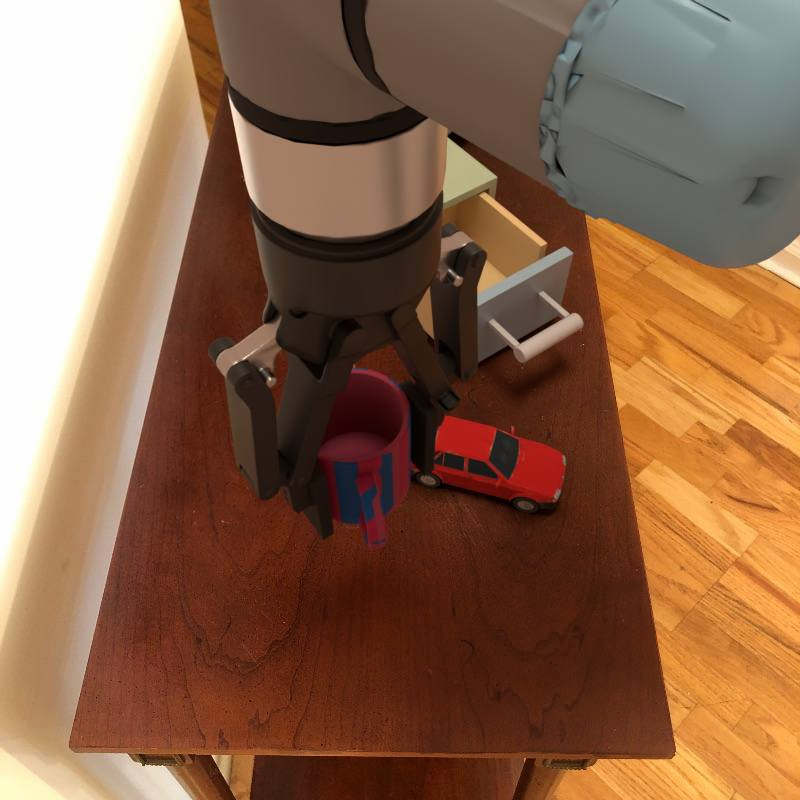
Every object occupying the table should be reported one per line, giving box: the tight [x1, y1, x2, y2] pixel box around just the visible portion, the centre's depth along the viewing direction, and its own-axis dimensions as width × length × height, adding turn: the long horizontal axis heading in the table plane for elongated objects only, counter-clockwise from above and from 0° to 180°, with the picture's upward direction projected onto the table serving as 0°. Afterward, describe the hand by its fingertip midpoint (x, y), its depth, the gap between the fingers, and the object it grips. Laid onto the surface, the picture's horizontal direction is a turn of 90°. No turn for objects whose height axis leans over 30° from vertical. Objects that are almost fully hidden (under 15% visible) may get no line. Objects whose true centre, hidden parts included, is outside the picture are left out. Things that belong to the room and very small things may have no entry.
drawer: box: [416, 191, 584, 364], centre depth 75 cm, size 21×13×8 cm, turn 36°
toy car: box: [411, 415, 567, 514], centre depth 67 cm, size 6×14×5 cm, turn 73°
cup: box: [316, 367, 412, 550], centre depth 45 cm, size 7×10×7 cm
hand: (367, 488), depth 48 cm, fingers closed on cup, 7 cm apart
